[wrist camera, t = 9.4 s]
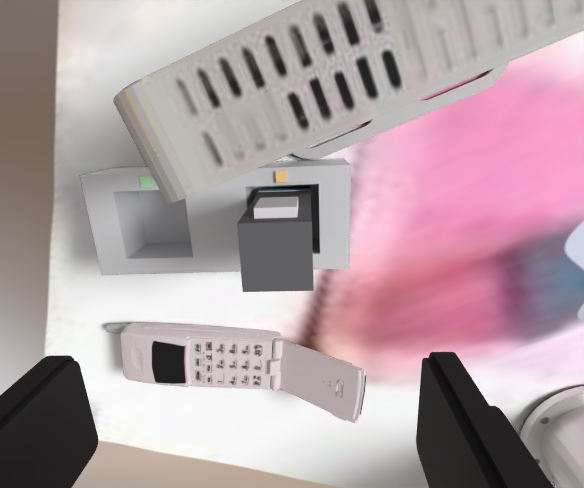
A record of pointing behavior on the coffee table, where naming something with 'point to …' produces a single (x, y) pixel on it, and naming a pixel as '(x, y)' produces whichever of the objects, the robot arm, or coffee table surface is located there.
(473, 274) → the coffee table surface
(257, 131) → the network device
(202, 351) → the mobile phone
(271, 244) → the plug
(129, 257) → the socket block
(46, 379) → the robot arm
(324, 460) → the coffee table surface
